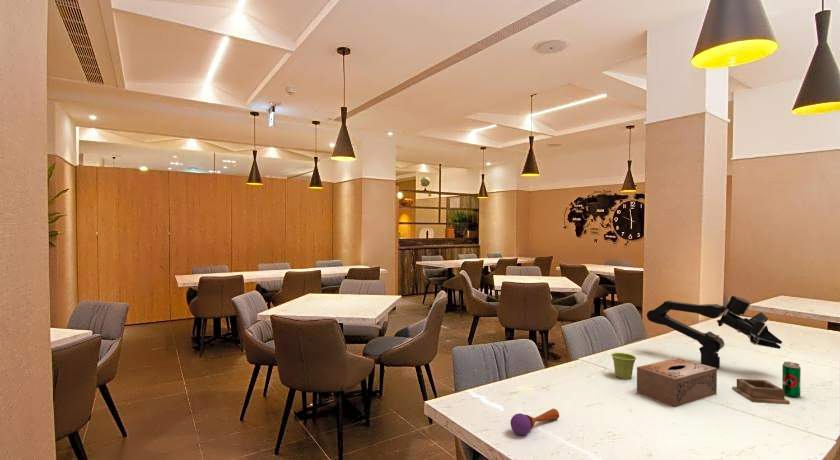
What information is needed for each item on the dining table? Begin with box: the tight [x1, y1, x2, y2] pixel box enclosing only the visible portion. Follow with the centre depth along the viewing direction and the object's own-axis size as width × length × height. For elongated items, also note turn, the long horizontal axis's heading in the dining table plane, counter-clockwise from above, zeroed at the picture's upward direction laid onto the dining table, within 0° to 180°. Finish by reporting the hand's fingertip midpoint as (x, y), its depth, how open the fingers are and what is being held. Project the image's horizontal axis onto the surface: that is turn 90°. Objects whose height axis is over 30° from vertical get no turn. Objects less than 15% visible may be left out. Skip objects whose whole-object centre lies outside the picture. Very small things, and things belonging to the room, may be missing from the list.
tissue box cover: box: [636, 357, 718, 408], centre depth 156 cm, size 26×14×10 cm, turn 117°
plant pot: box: [611, 352, 637, 380], centre depth 174 cm, size 9×9×9 cm
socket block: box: [731, 378, 791, 405], centre depth 154 cm, size 12×12×4 cm
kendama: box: [509, 408, 560, 436], centre depth 129 cm, size 6×6×20 cm
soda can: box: [781, 361, 802, 398], centre depth 155 cm, size 5×5×12 cm
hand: (781, 345), depth 169 cm, fingers open, 9 cm apart
